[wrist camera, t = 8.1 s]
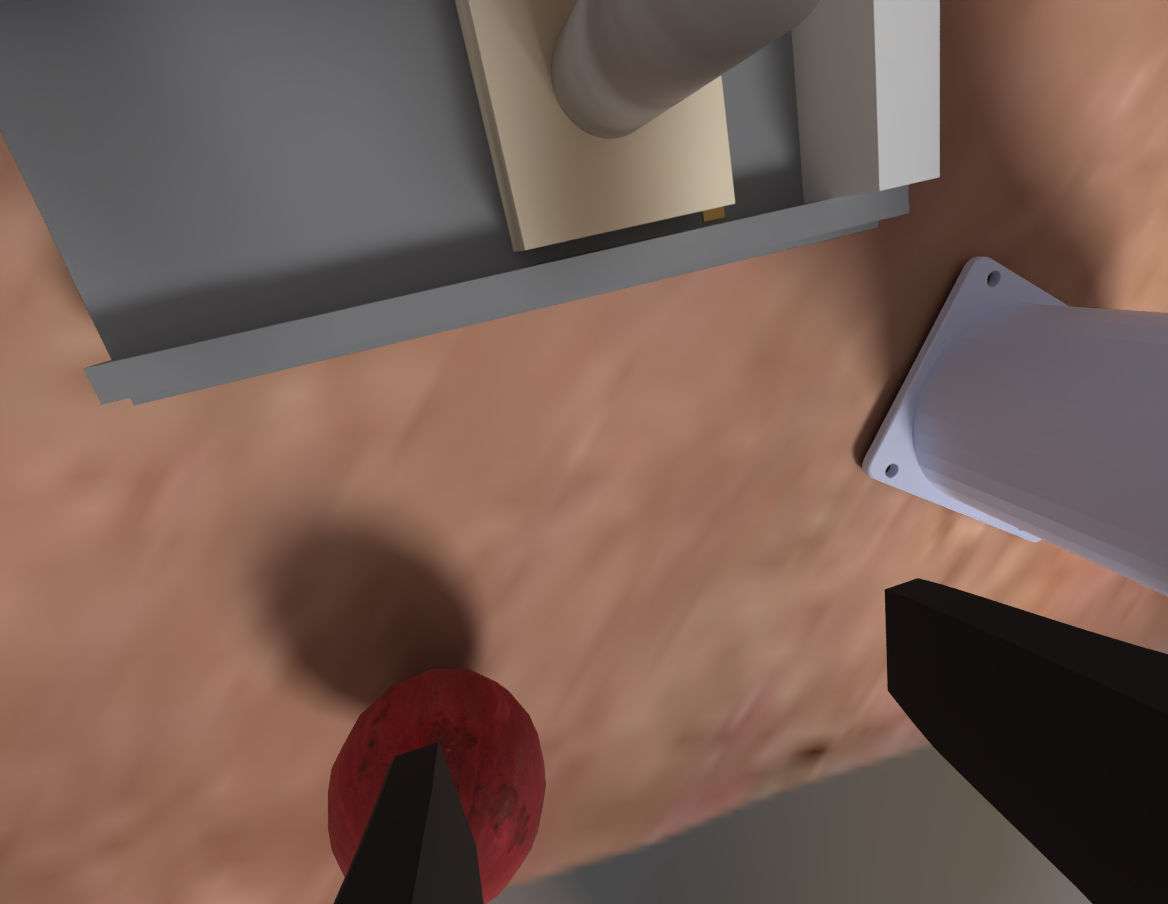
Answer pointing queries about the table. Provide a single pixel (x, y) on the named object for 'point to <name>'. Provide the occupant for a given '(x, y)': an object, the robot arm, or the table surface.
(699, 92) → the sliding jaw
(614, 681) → the table surface
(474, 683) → the onion
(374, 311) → the rail base
